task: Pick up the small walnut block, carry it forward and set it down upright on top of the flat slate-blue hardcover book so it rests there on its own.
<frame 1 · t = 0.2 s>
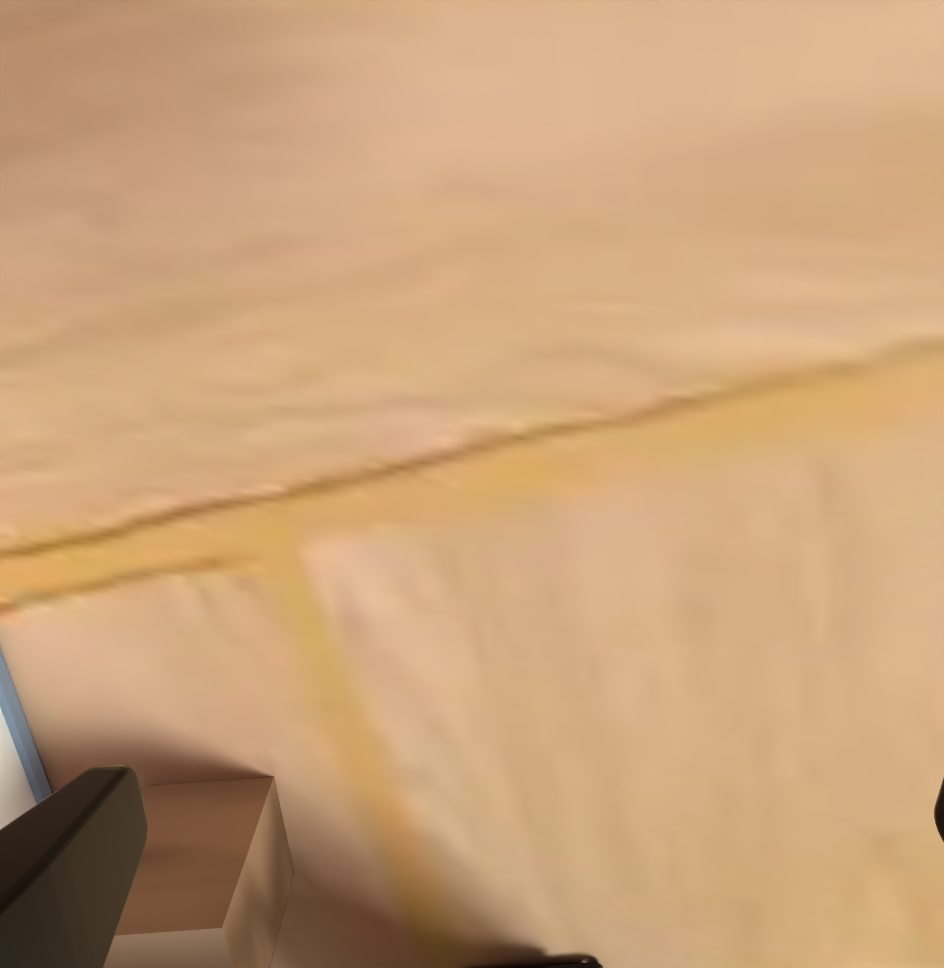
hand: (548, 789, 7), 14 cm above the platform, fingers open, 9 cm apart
walnut block: (221, 829, 26), on the platform
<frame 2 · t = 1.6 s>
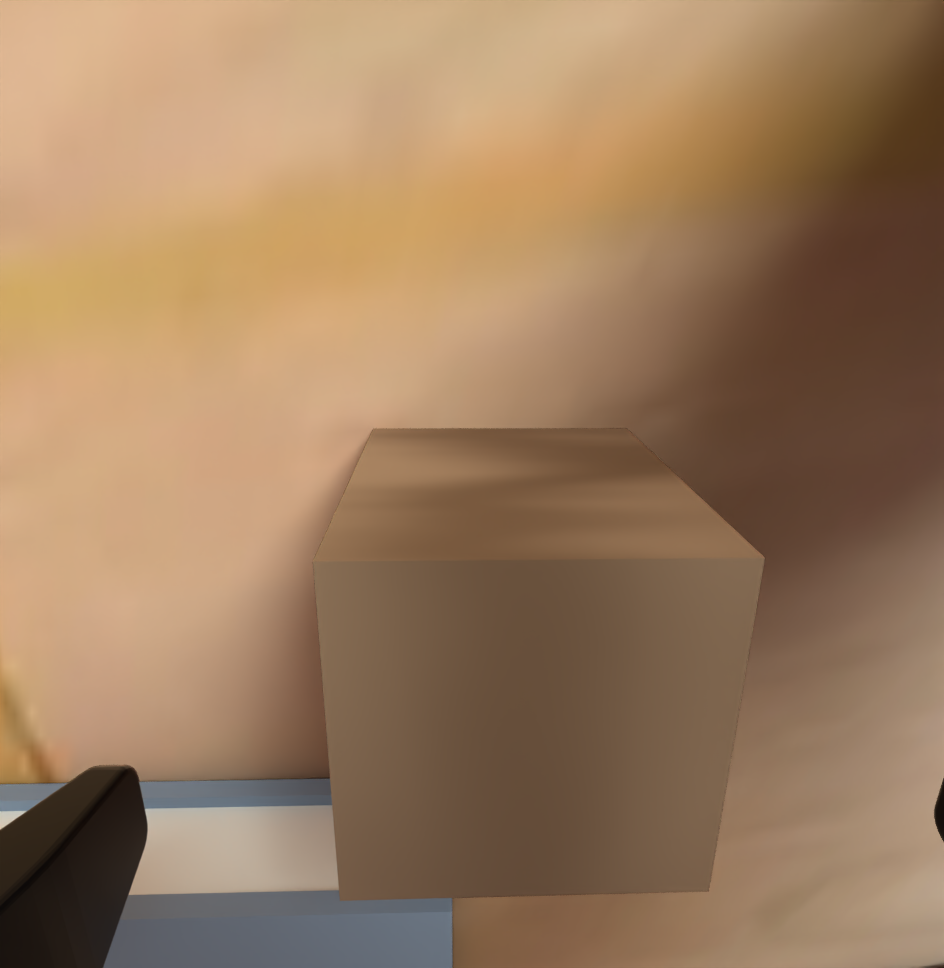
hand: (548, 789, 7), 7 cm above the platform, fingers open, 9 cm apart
book: (149, 963, 17), on the platform
walnut block: (498, 543, 14), on the platform
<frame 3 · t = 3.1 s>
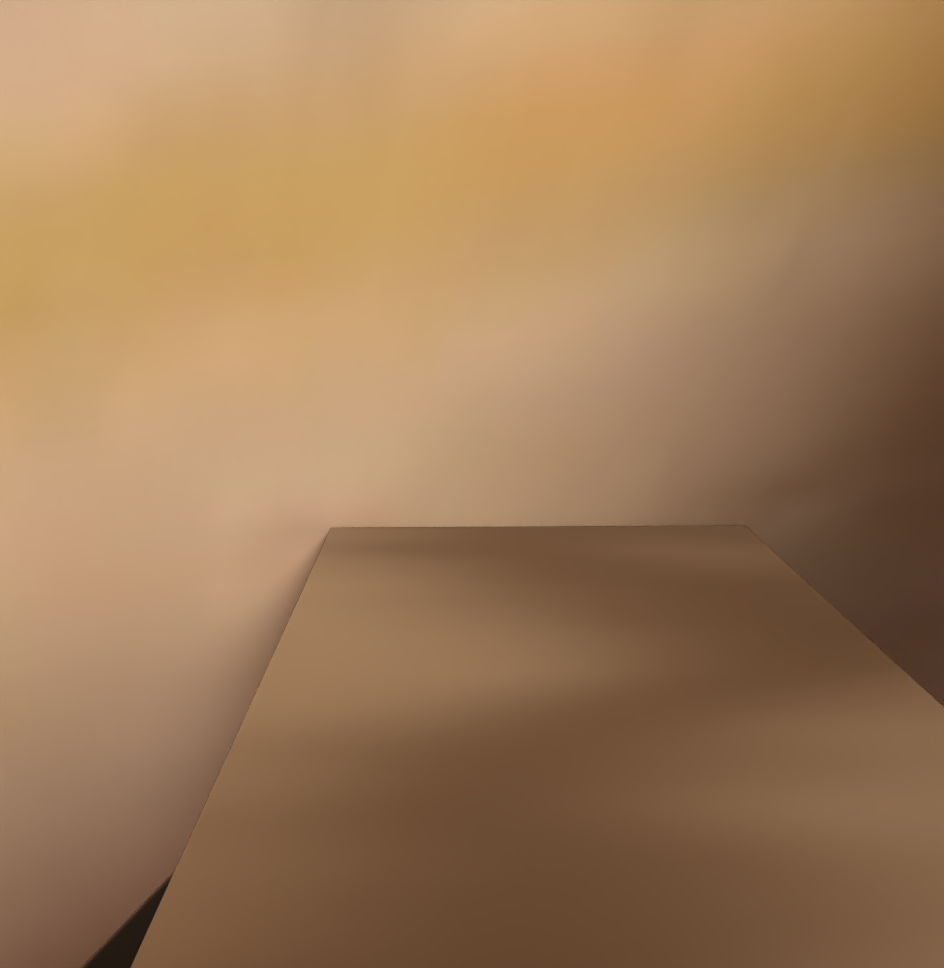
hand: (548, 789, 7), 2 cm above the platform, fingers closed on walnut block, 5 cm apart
walnut block: (532, 700, 9), on the platform, touching gripper
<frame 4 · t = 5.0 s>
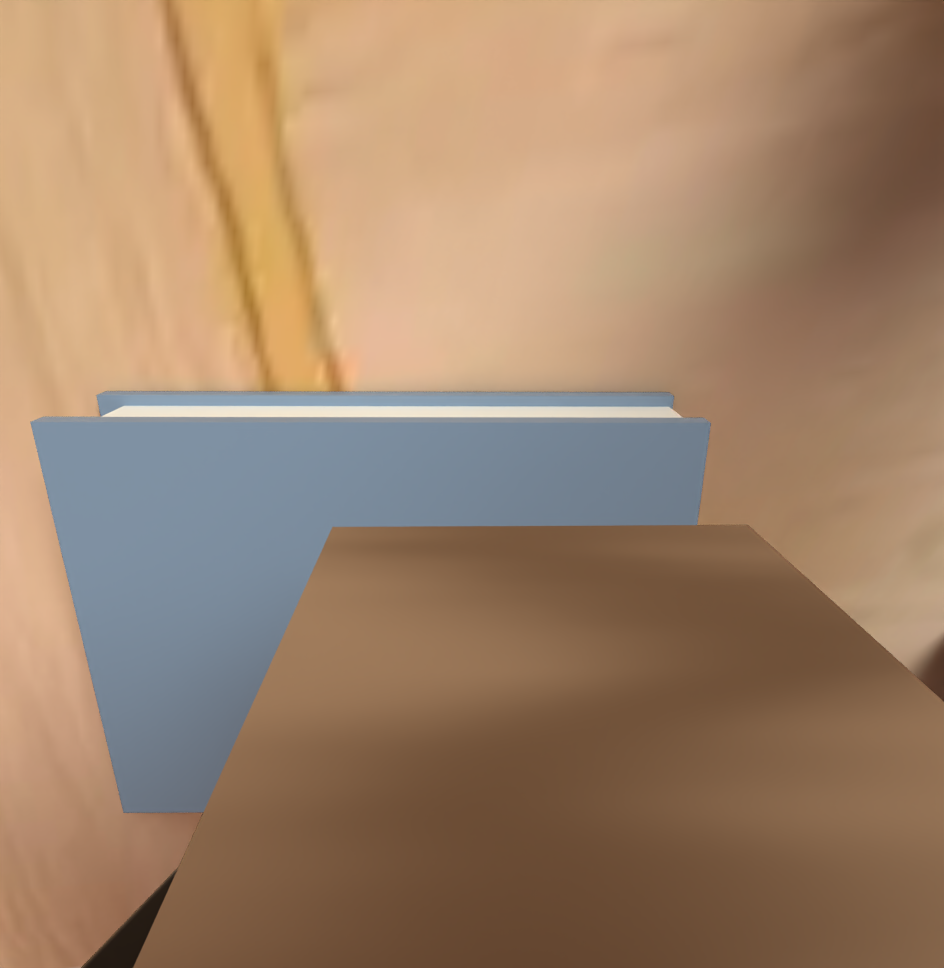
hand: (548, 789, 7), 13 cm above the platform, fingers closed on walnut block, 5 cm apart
book: (396, 578, 21), on the platform
walnut block: (534, 700, 9), point 11 cm above the platform, touching gripper
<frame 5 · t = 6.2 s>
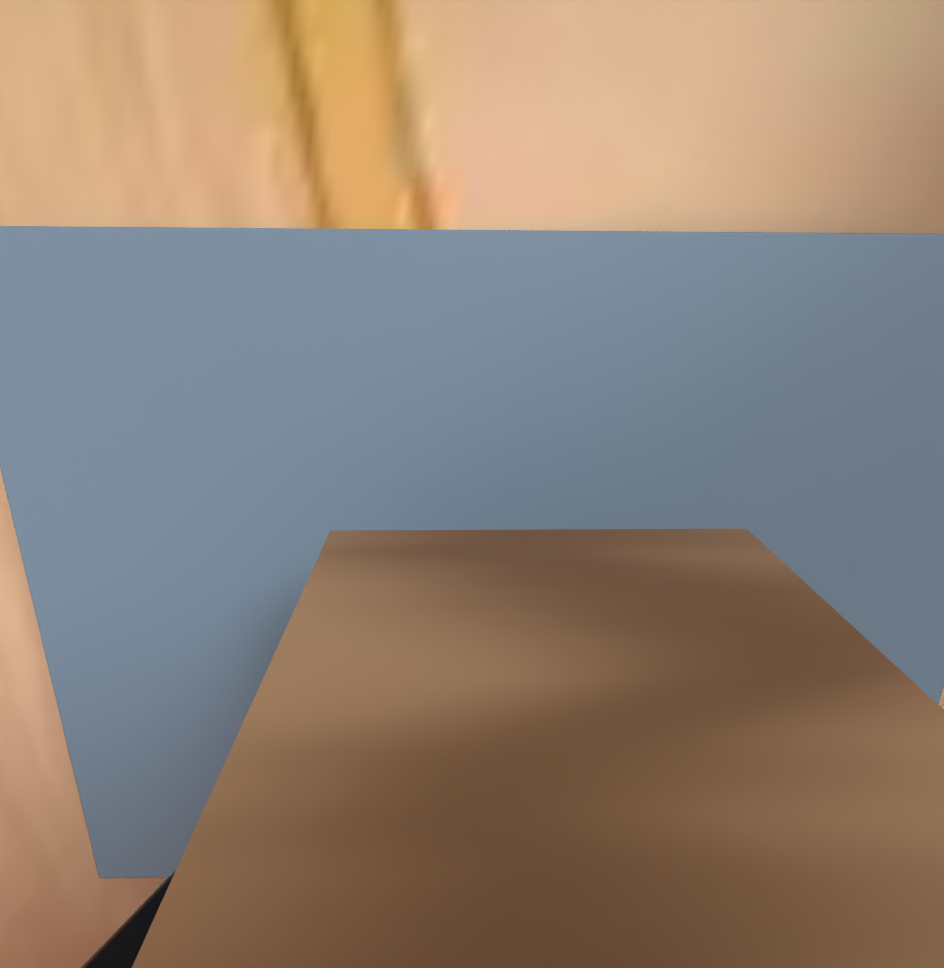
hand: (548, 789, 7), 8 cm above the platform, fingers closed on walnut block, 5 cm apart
book: (497, 528, 14), on the platform
walnut block: (532, 703, 9), point 6 cm above the platform, touching gripper
when the fingers open (6 cm above the platform, at t = 7.3 s): walnut block drops 1 cm, resting on book.
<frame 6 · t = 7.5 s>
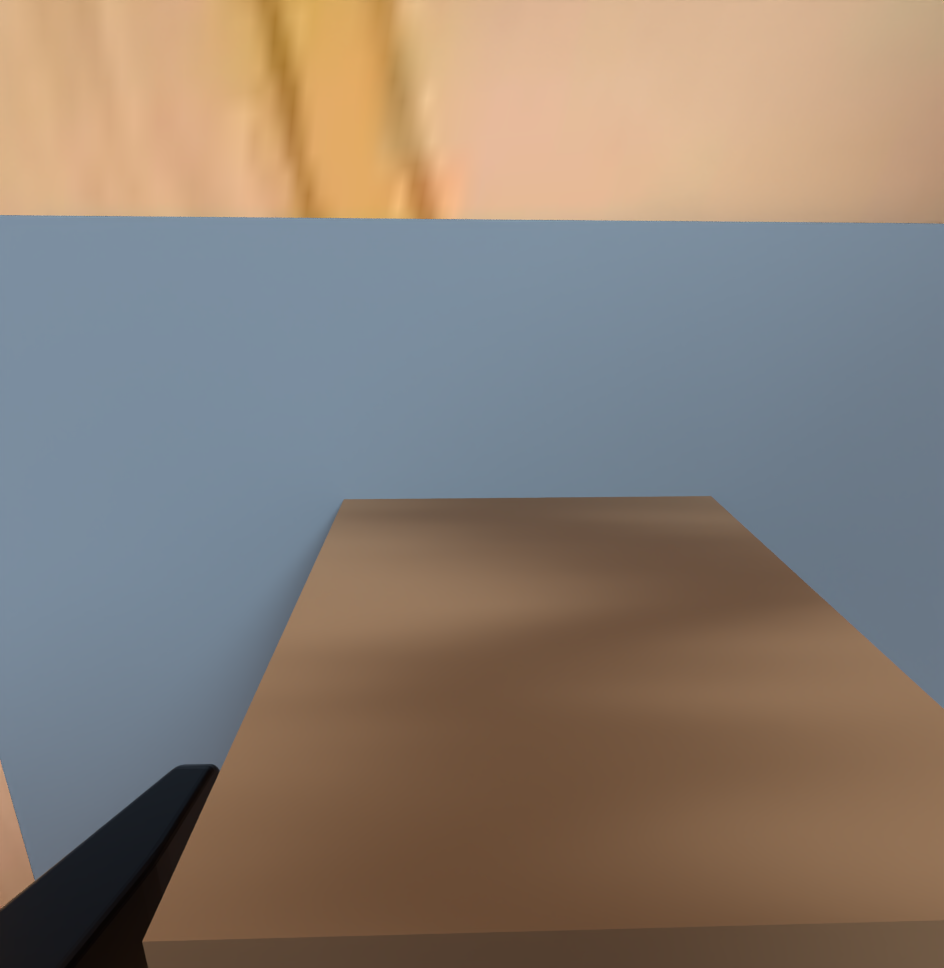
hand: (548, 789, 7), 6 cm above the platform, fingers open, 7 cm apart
book: (505, 556, 13), on the platform
walnut block: (523, 655, 10), point 3 cm above the platform, touching book
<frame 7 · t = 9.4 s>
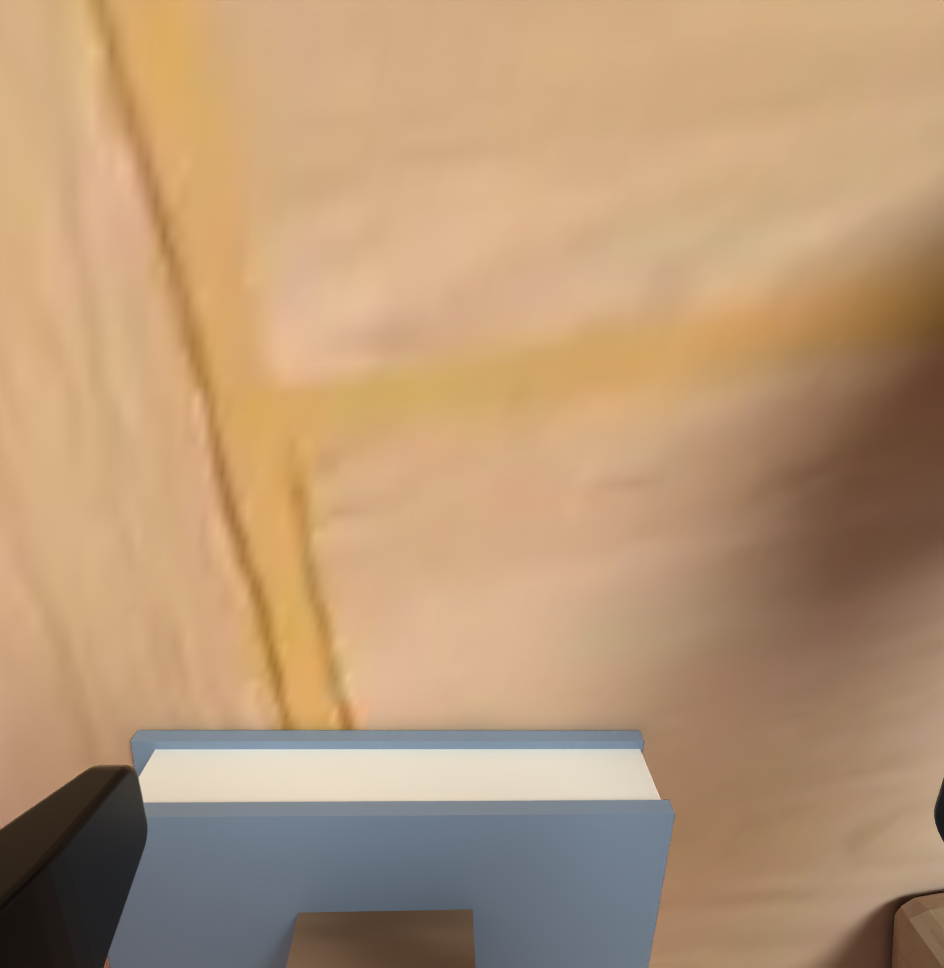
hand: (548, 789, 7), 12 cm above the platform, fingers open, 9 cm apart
book: (394, 872, 23), on the platform
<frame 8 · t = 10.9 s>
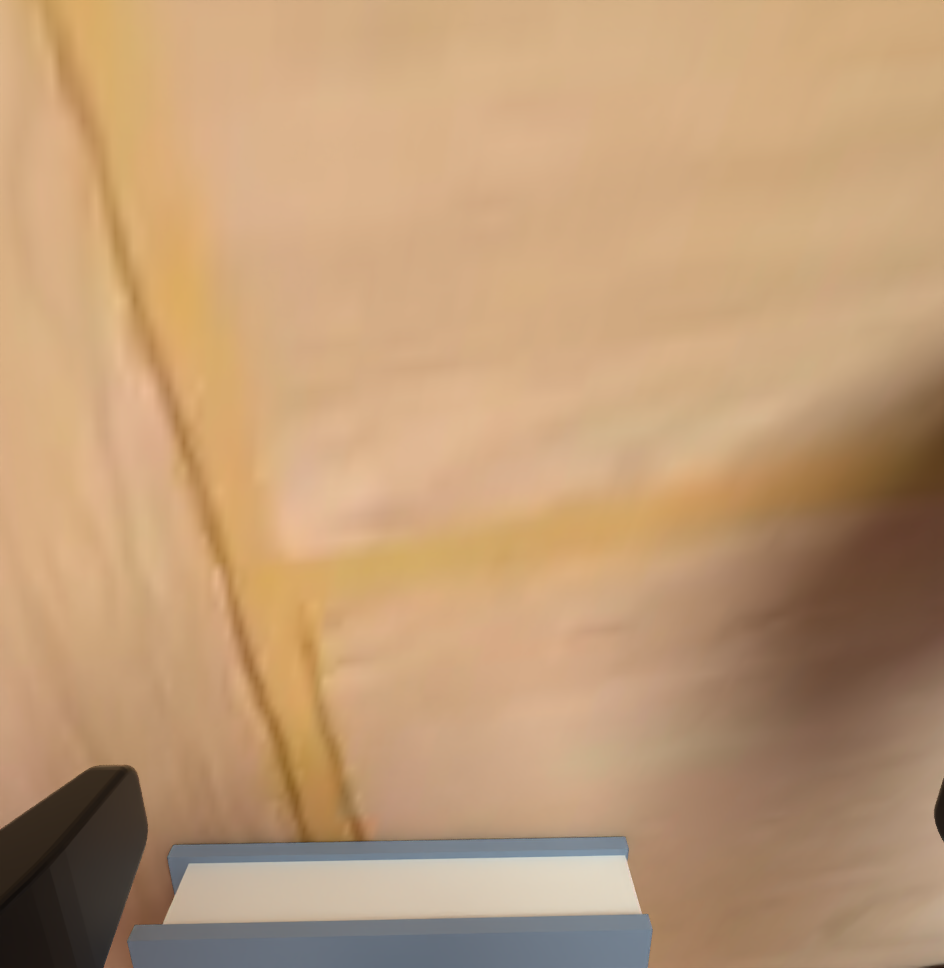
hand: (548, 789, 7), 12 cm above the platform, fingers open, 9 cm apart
book: (405, 959, 25), on the platform
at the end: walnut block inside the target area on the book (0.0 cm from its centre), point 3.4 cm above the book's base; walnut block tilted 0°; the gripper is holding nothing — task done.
